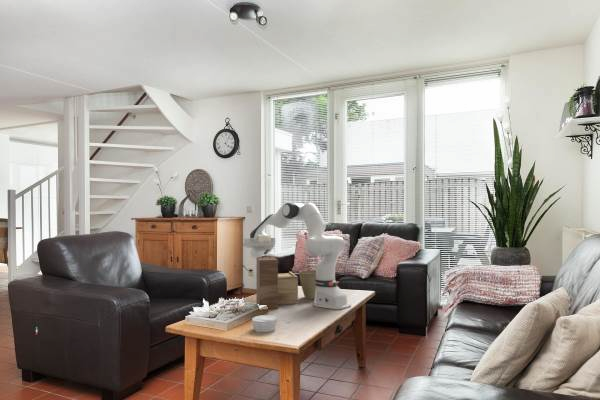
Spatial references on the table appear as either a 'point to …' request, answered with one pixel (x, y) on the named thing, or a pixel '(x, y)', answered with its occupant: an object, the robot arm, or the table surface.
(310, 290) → the plant pot
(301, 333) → the table surface
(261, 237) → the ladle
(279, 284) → the stand
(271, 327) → the ramekin
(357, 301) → the table surface
